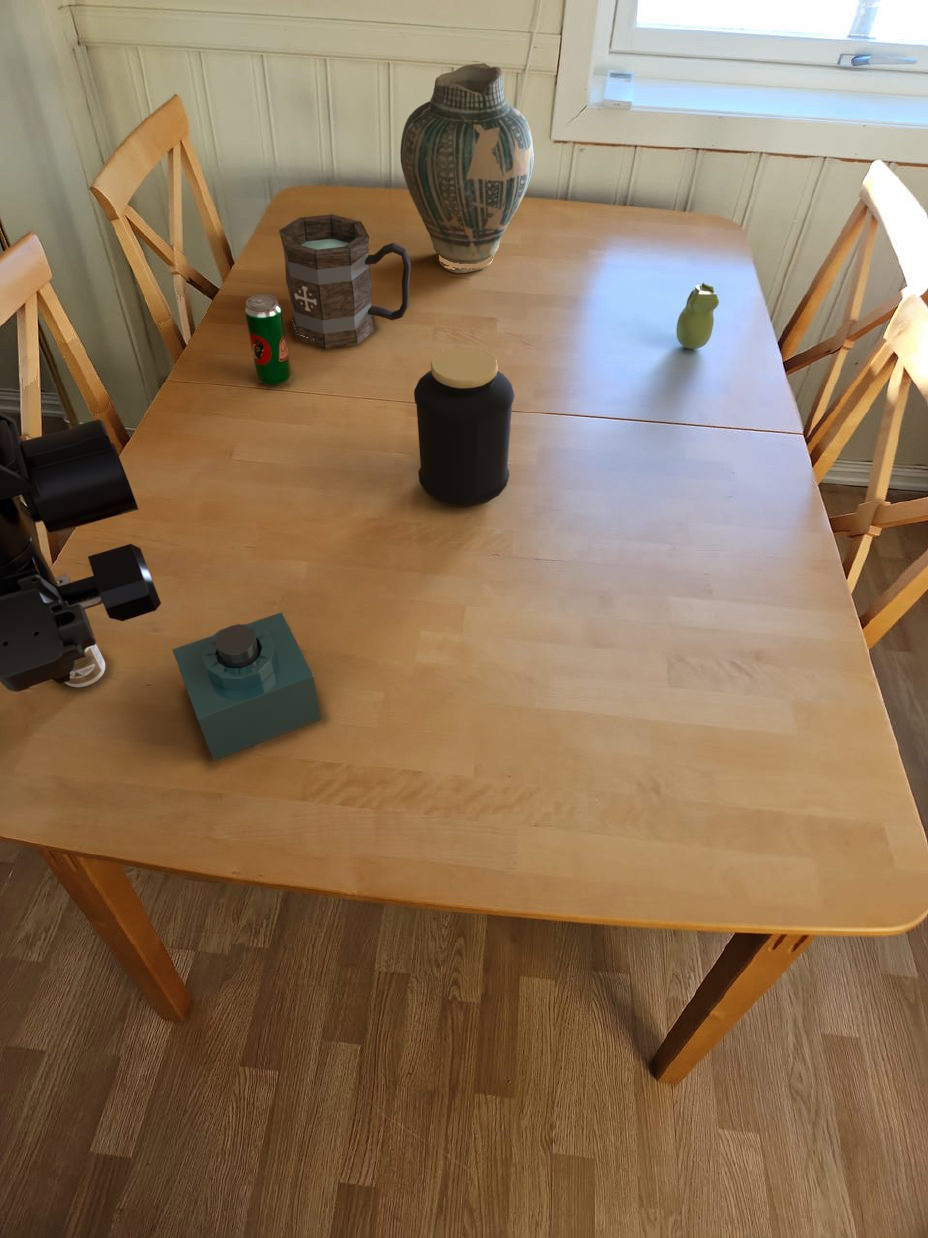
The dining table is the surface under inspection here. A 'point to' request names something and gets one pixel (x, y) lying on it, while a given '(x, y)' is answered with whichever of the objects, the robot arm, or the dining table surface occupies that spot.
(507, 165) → the vase
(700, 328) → the pear
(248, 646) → the dark brown button
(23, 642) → the robot arm
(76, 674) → the pill bottle
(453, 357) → the container
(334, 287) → the mug
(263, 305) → the soda can
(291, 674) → the teal push button box
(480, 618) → the dining table surface
